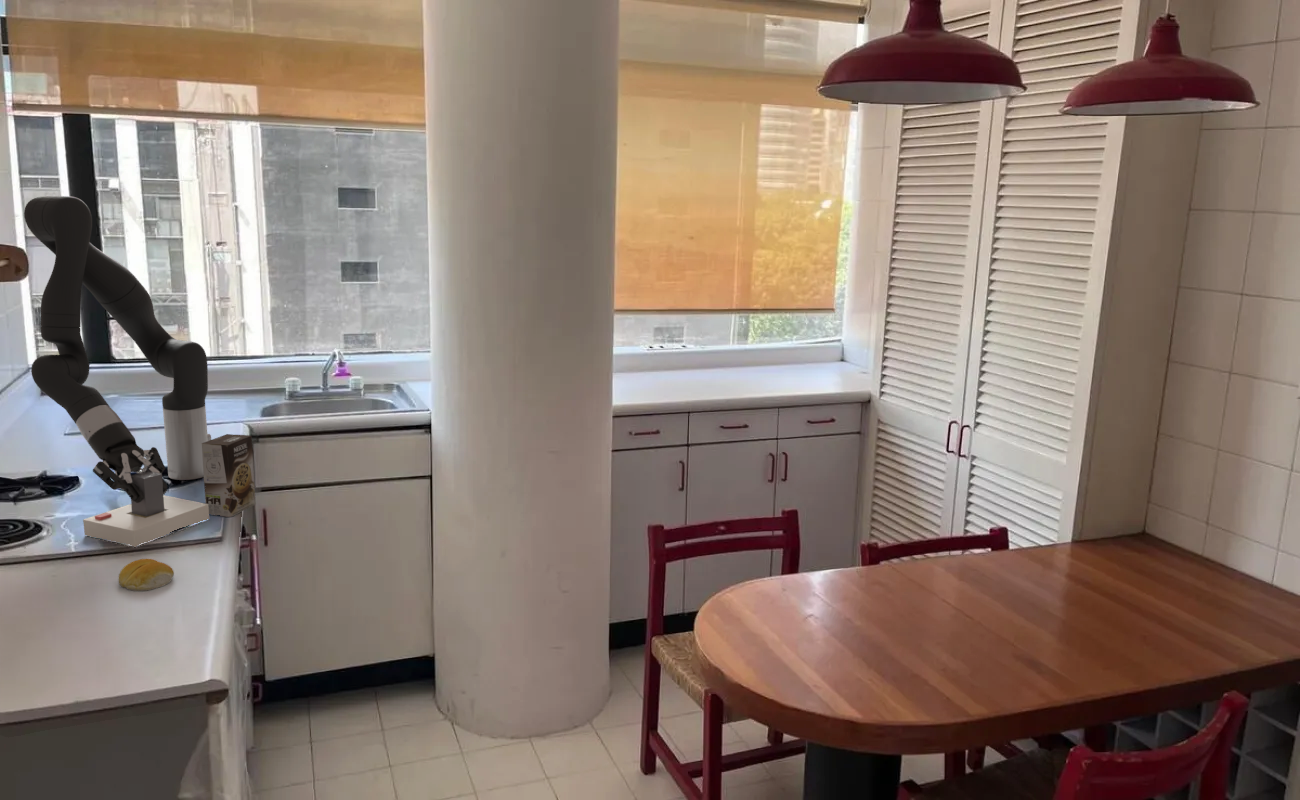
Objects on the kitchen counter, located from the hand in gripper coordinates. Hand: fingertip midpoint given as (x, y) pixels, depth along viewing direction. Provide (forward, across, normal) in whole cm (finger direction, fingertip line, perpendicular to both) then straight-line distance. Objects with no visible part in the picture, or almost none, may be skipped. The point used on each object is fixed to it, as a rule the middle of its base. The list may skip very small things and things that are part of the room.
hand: (152, 496), depth 191 cm
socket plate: (+4, 0, +6) cm, 7 cm away
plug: (+3, 0, +6) cm, 7 cm away
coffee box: (+8, +16, +2) cm, 18 cm away
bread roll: (+20, -19, -9) cm, 29 cm away
